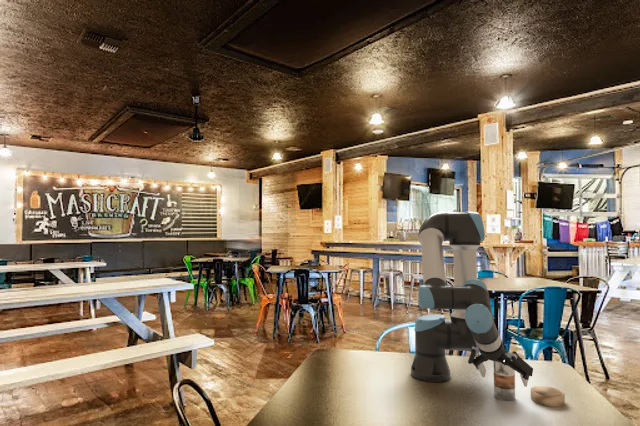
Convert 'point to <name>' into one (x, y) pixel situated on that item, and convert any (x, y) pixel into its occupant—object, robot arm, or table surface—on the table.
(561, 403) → the stand
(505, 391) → the can
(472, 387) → the table surface
